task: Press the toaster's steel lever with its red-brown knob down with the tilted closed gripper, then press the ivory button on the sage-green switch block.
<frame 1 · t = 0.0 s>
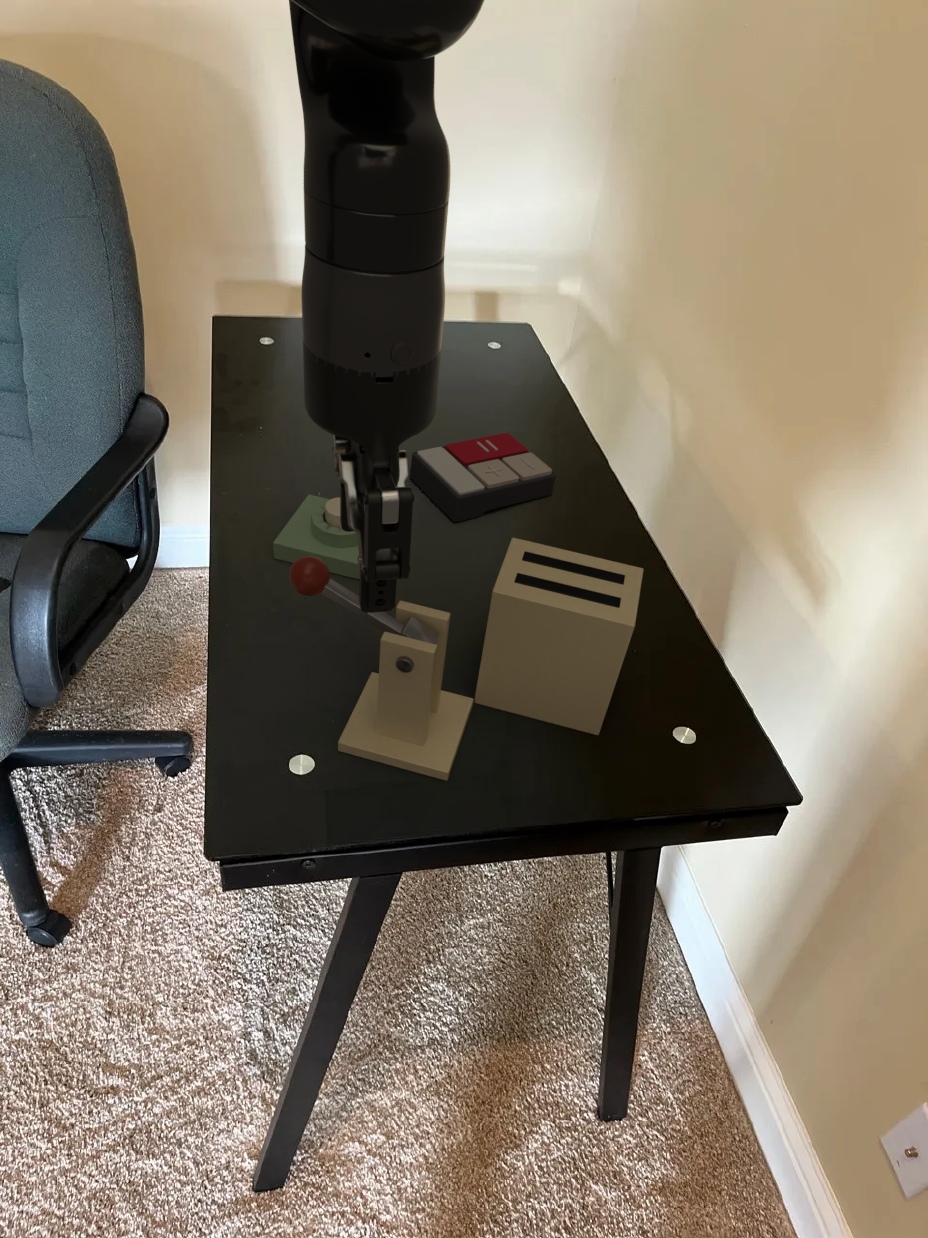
hand: (366, 566, 56), 23 cm above the table, tool pointing down, fingers open, 8 cm apart
toaster lever: (361, 608, 67), point 13 cm above the table, hinge at 25.0°
switch block: (341, 545, 93), on the table
lever bracket: (407, 728, 75), on the table
start button: (341, 512, 90), point 4 cm above the table, slide at 0.1 cm
toaster: (543, 689, 80), on the table
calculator: (480, 487, 105), on the table
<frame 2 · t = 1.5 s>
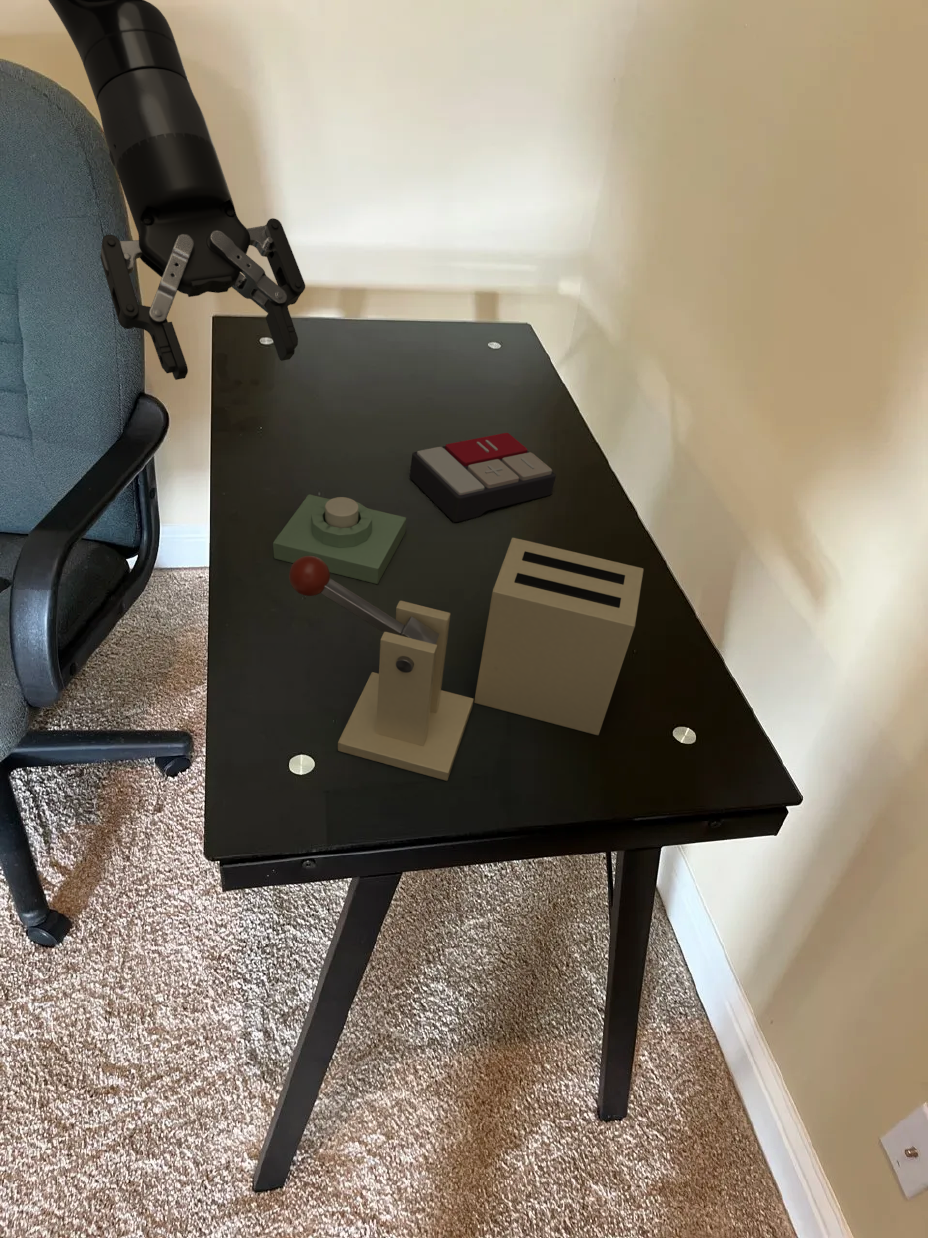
hand: (236, 366, 64), 28 cm above the table, tool tilted 45°, fingers open, 8 cm apart
nothing on the table moved.
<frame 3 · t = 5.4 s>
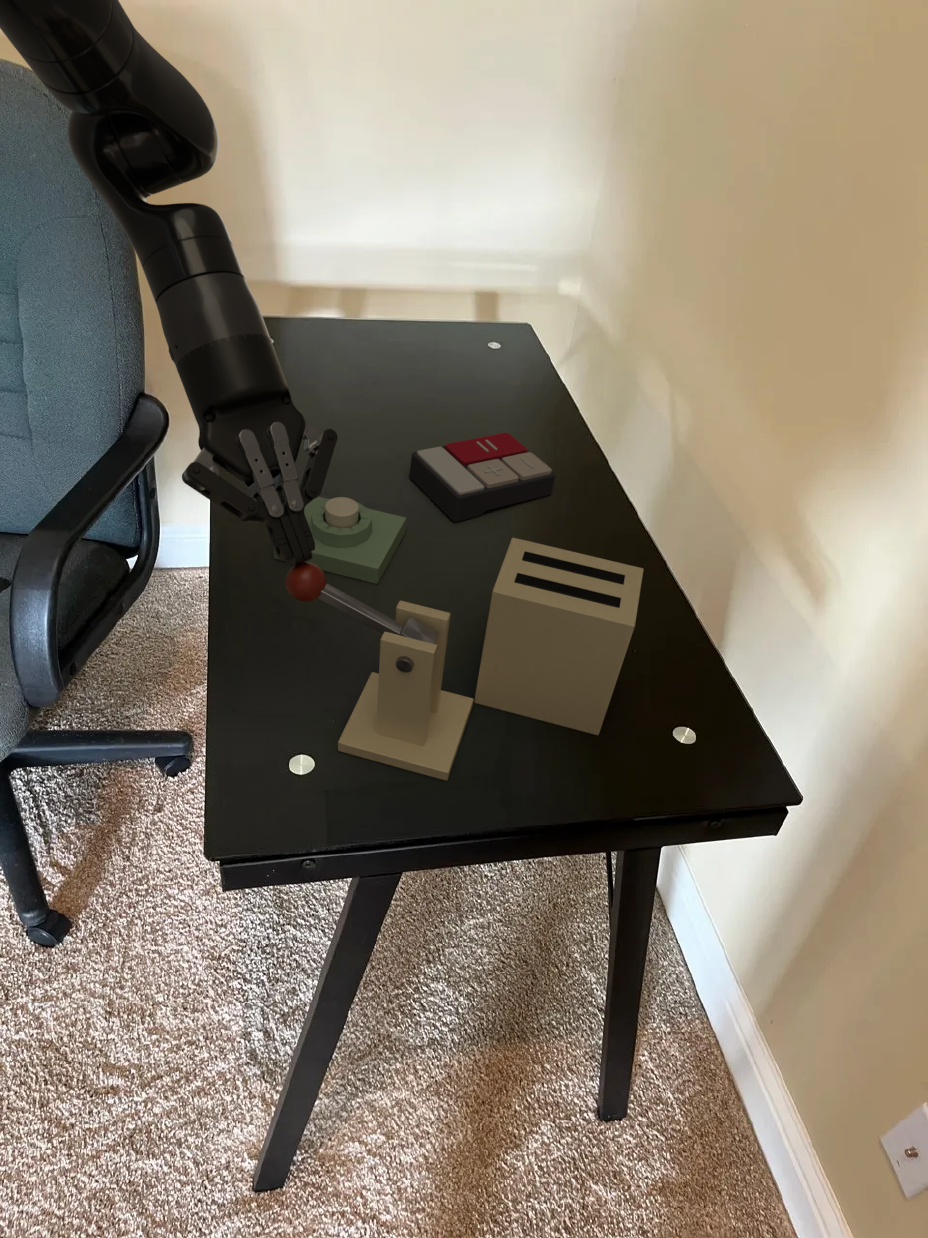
hand: (301, 562, 65), 16 cm above the table, tool tilted 45°, fingers closed
toaster lever: (360, 611, 67), point 13 cm above the table, hinge at 20.4°, touching gripper
everything else where it was.
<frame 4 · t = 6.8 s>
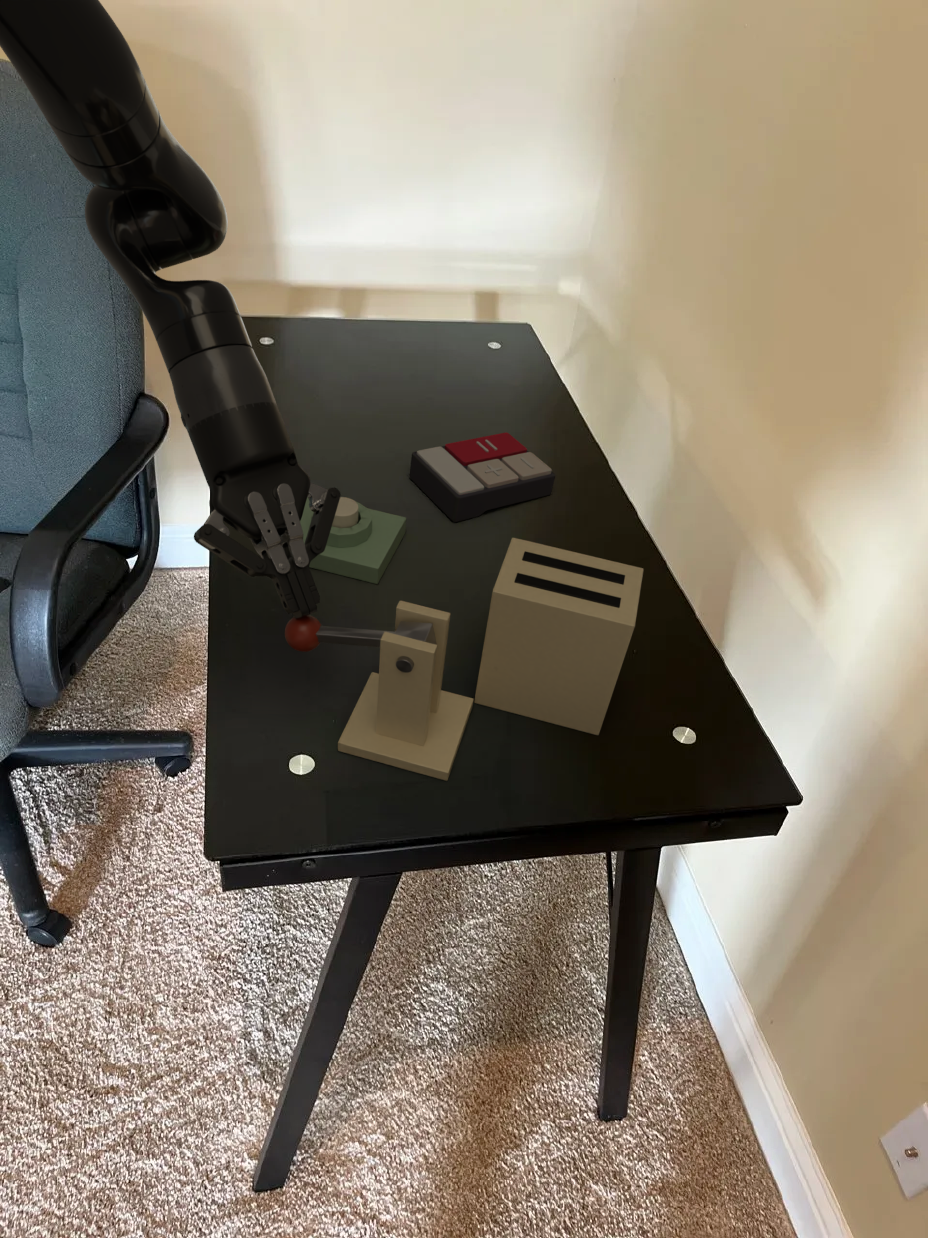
hand: (306, 614, 69), 11 cm above the table, tool tilted 45°, fingers closed
toaster lever: (357, 637, 69), point 10 cm above the table, hinge at -13.3°, touching gripper
everything else where it was.
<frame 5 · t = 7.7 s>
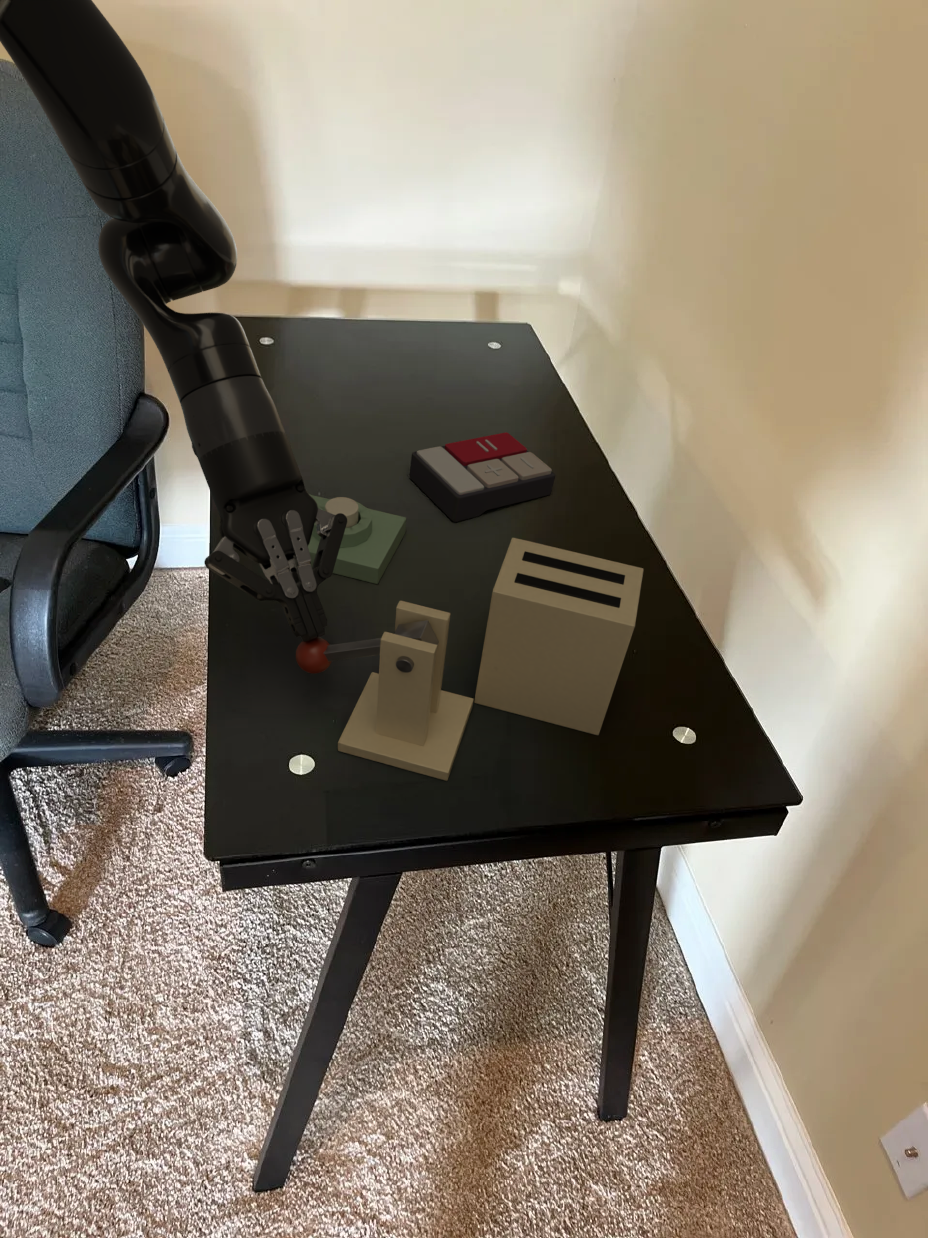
hand: (314, 637, 70), 8 cm above the table, tool tilted 45°, fingers closed
toaster lever: (362, 648, 70), point 9 cm above the table, hinge at -27.9°, touching gripper
everything else where it was.
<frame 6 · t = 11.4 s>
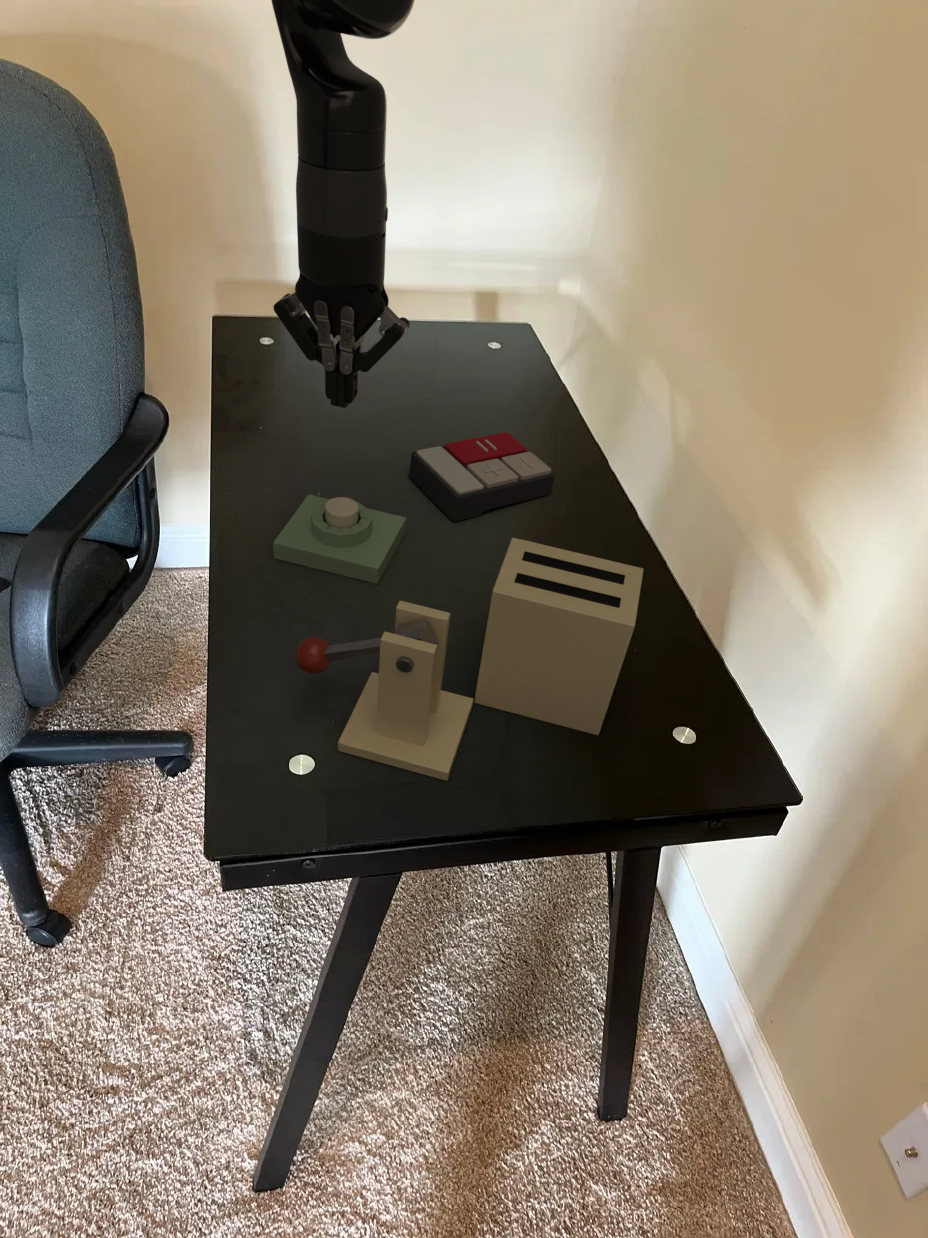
hand: (341, 403, 82), 18 cm above the table, tool pointing down, fingers closed
toaster lever: (362, 648, 70), point 9 cm above the table, hinge at -27.9°
everything else where it was.
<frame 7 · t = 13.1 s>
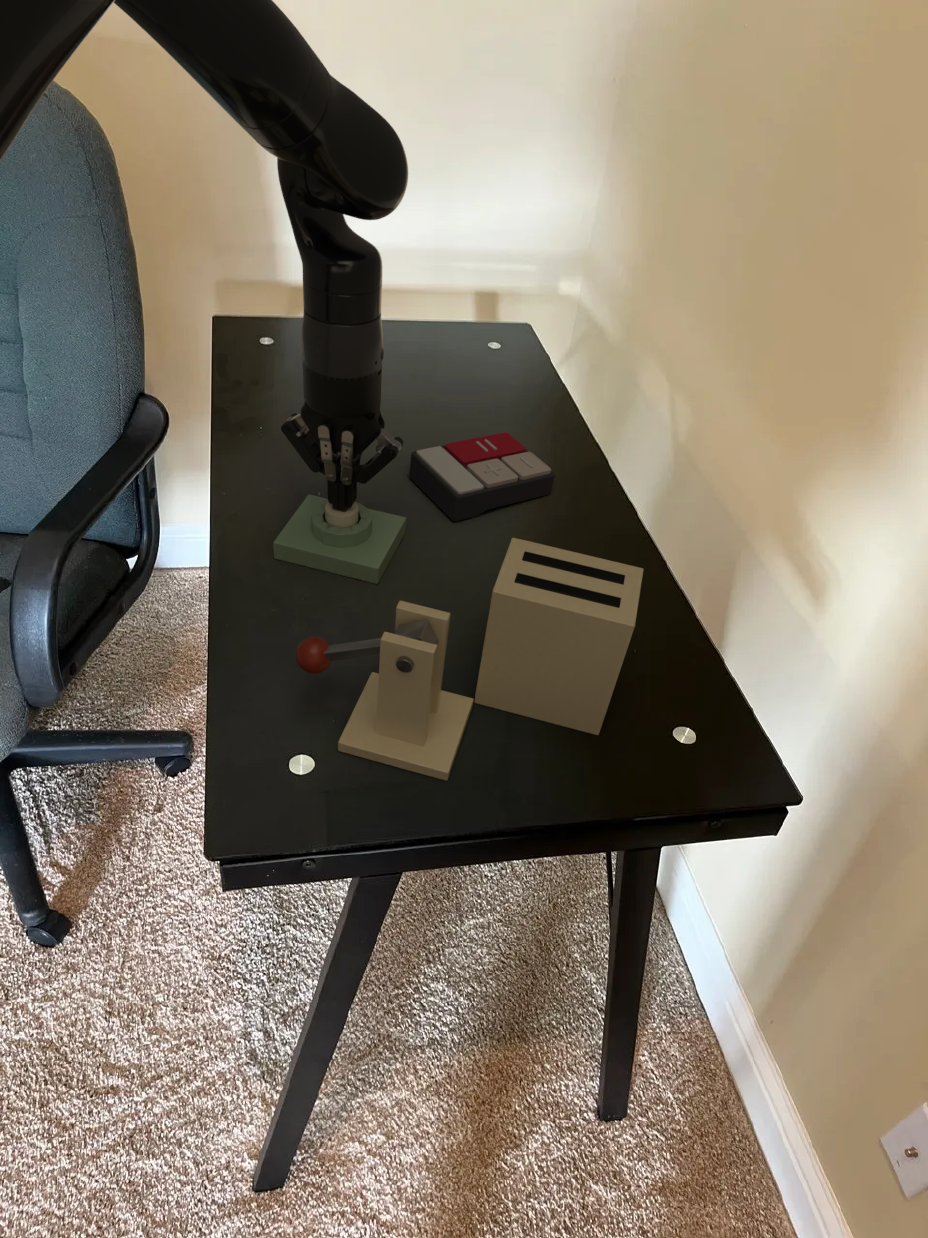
hand: (342, 506, 90), 5 cm above the table, tool pointing down, fingers closed
start button: (341, 513, 90), point 4 cm above the table, slide at 0.0 cm, touching gripper
everything else where it was.
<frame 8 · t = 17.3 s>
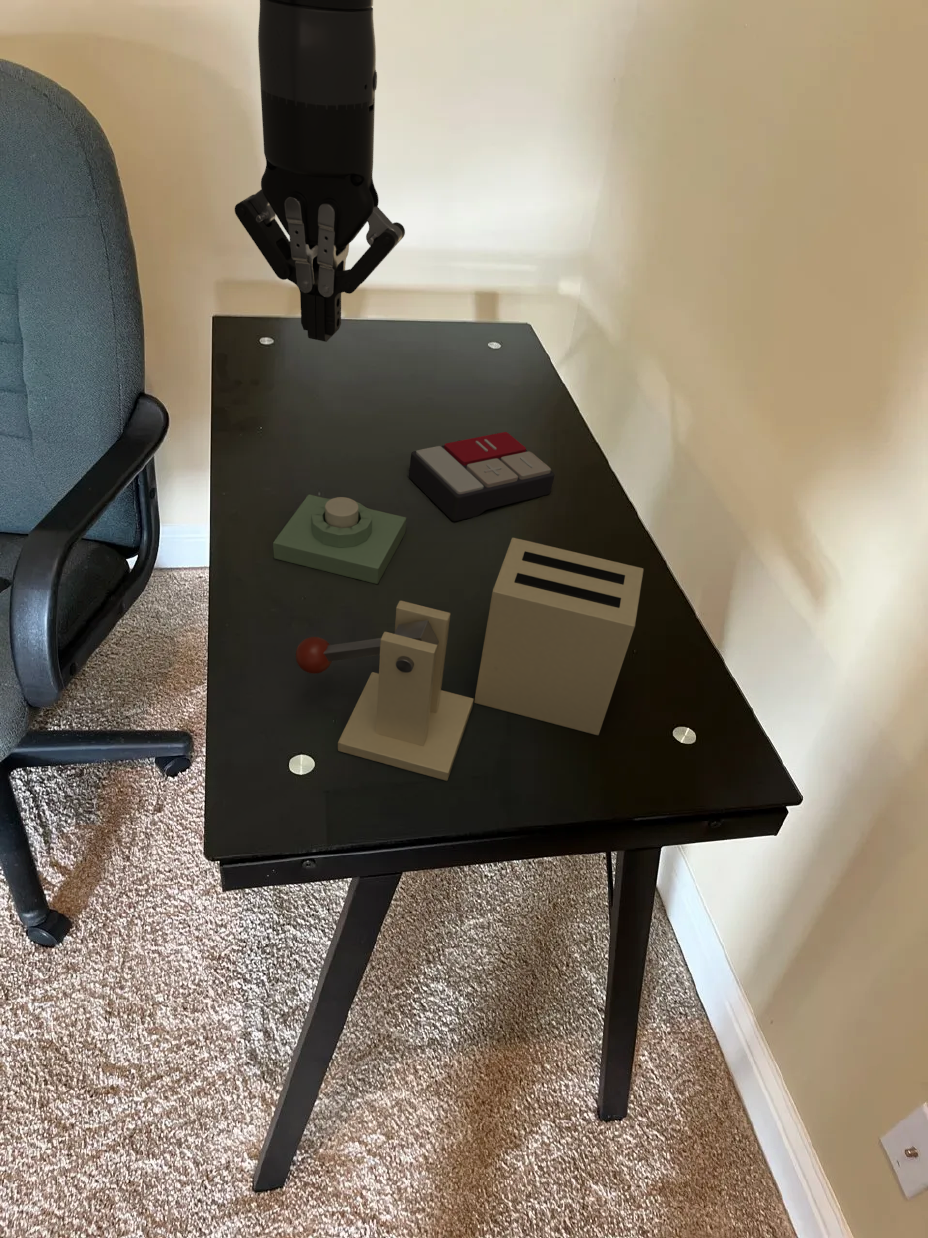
hand: (321, 336, 66), 29 cm above the table, tool pointing down, fingers closed
start button: (341, 512, 90), point 4 cm above the table, slide at 0.1 cm
everything else where it was.
at the end: toaster lever at -28° (first picture: +25°); start button pushed in 1.0 cm at the most during the clip, back to where it started at the end; start button slide at 0.1 cm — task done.
